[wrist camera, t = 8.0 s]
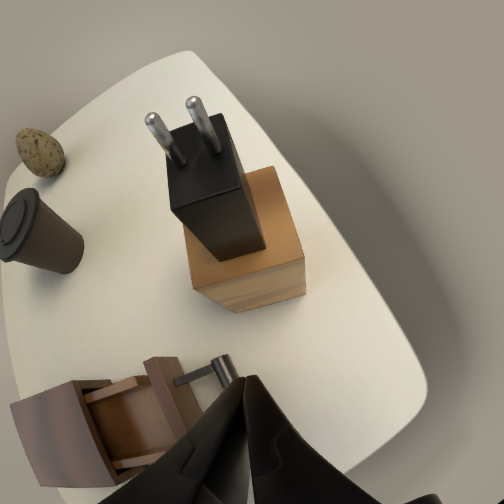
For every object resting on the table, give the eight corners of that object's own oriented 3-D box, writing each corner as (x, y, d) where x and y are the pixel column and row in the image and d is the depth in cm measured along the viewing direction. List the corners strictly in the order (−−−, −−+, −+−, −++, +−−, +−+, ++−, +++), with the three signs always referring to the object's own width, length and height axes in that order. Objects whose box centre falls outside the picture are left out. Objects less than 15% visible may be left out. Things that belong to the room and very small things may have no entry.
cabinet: (110, 379, 24) (71, 380, 18) (149, 467, 20) (116, 486, 15) (43, 403, 24) (9, 404, 19) (72, 476, 20) (40, 486, 15)
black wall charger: (267, 249, 15) (220, 133, 7) (219, 263, 15) (130, 168, 7) (249, 186, 16) (202, 62, 8) (206, 199, 17) (135, 89, 9)
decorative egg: (46, 193, 34) (3, 159, 25) (45, 169, 37) (7, 136, 27) (73, 168, 35) (31, 129, 25) (71, 146, 37) (34, 109, 28)
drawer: (226, 334, 22) (211, 330, 19) (271, 427, 19) (264, 441, 16) (86, 392, 23) (60, 394, 19) (118, 468, 19) (95, 479, 16)
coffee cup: (54, 297, 28) (-11, 273, 19) (45, 244, 31) (-9, 213, 22) (99, 262, 28) (32, 226, 19) (86, 209, 31) (32, 167, 22)
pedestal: (306, 294, 23) (304, 257, 14) (235, 313, 24) (192, 289, 15) (286, 229, 25) (273, 164, 17) (221, 248, 26) (178, 195, 17)
